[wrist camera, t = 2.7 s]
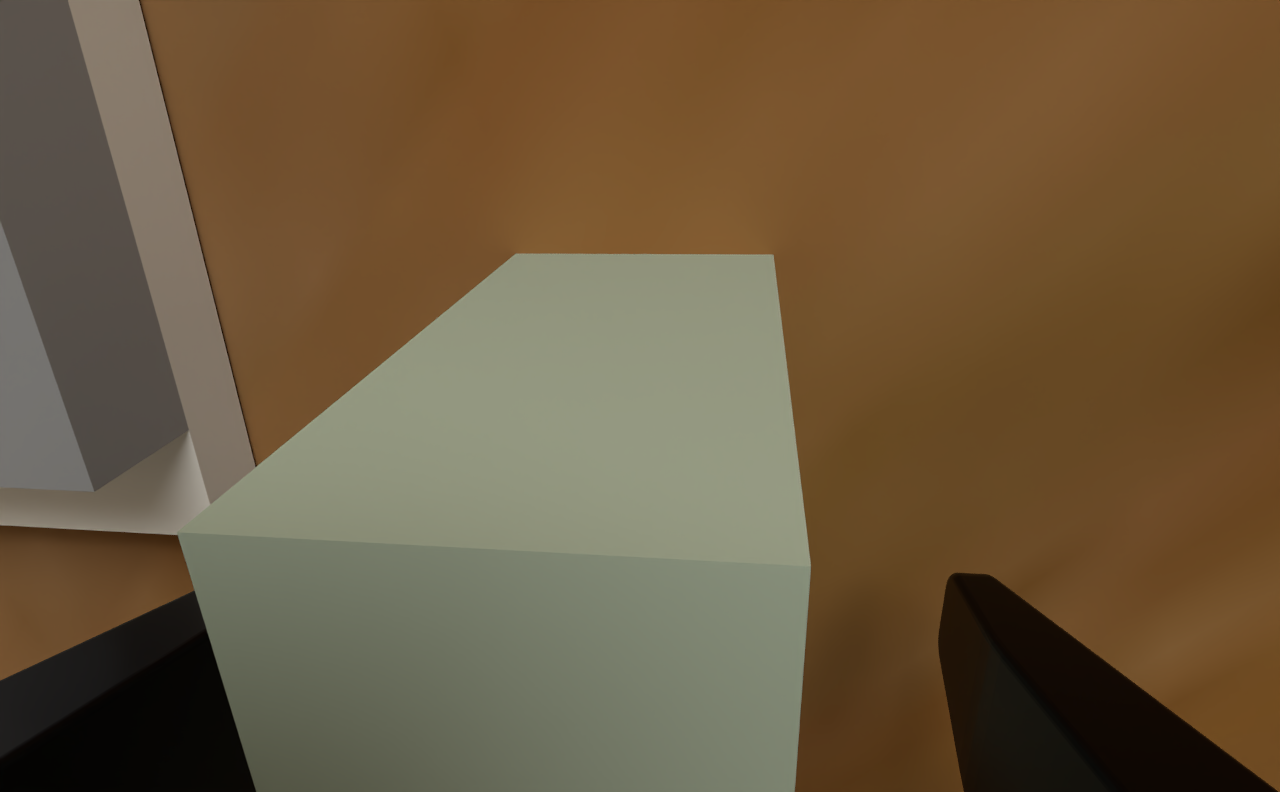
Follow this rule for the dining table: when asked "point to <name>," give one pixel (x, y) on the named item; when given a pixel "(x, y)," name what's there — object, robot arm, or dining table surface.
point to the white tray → (102, 287)
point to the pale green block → (531, 548)
